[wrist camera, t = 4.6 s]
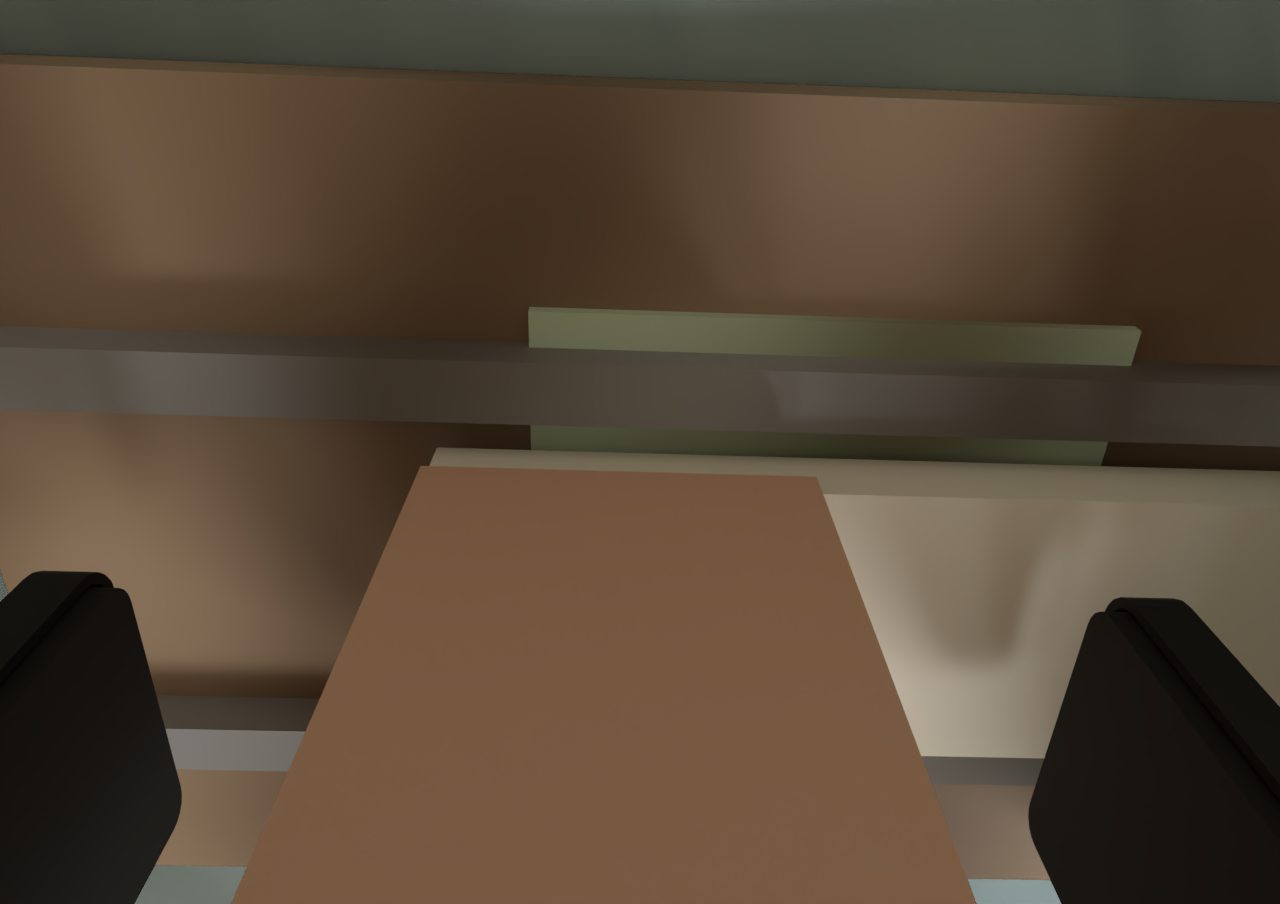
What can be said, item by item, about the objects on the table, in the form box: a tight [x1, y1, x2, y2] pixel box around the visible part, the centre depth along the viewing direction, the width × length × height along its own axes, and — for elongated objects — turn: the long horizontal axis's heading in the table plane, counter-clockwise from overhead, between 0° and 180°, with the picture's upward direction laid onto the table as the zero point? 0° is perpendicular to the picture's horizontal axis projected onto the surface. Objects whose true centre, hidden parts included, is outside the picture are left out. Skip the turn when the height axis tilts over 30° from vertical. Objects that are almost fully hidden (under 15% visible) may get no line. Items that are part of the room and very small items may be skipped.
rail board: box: [0, 54, 1280, 880], centre depth 12 cm, size 31×11×2 cm, turn 88°
